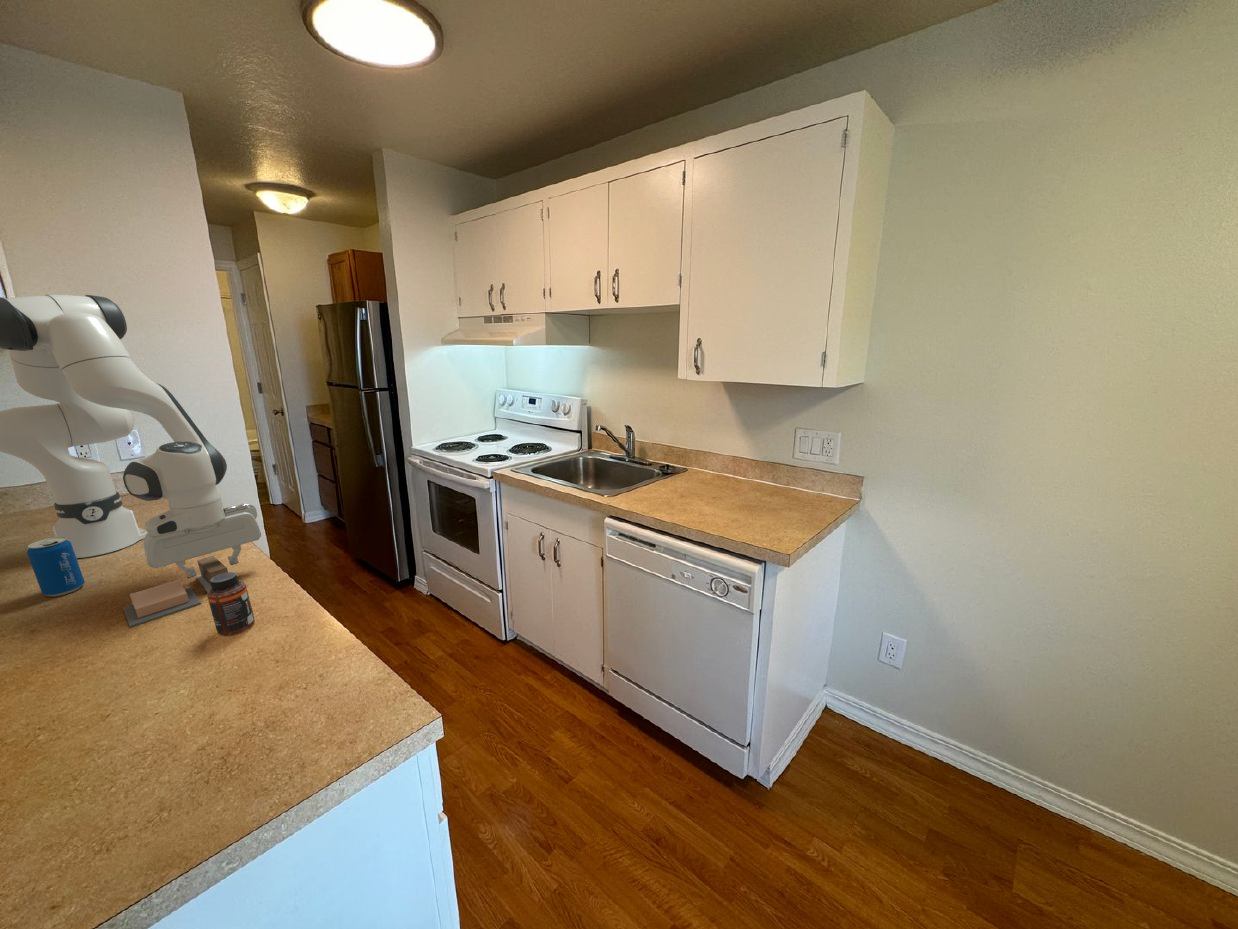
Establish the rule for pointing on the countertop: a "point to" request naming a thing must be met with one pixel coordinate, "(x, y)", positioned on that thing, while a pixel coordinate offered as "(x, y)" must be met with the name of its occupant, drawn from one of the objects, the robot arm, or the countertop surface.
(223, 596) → the supplement bottle
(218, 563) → the tall taupe beveled block
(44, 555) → the beverage can
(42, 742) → the countertop surface
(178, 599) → the tile
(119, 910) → the countertop surface
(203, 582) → the pad
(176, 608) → the mat
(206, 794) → the countertop surface
